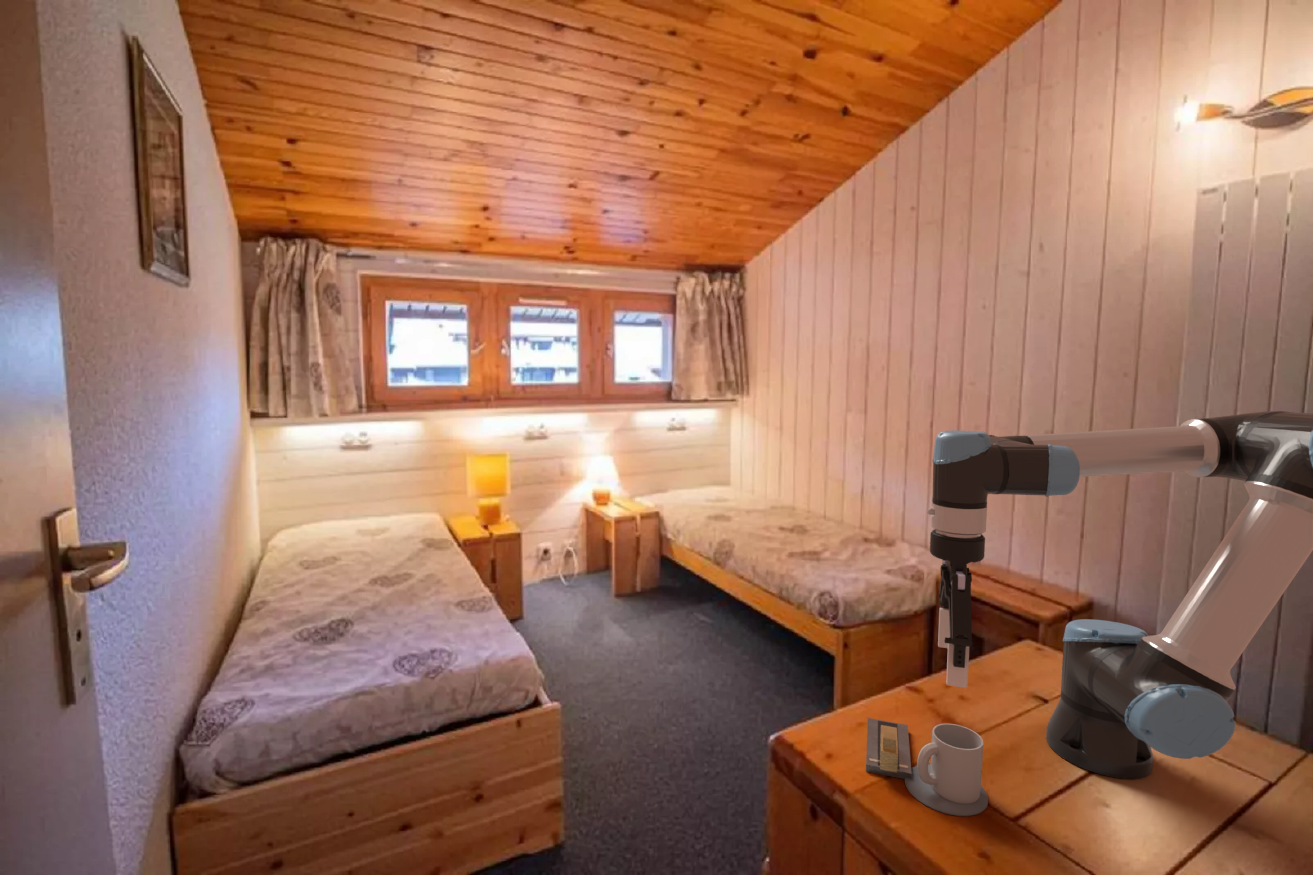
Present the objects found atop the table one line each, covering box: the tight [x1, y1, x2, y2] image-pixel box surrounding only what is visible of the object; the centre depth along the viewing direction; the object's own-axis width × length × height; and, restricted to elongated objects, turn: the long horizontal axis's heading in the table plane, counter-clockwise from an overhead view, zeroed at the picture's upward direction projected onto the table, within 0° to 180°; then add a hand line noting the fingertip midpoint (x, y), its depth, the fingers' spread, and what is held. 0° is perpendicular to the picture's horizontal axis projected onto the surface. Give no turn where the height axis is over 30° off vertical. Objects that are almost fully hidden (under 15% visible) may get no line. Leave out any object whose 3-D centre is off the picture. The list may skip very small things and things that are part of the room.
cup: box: [916, 723, 984, 804], centre depth 97 cm, size 7×10×9 cm
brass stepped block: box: [880, 725, 898, 773], centre depth 103 cm, size 3×8×5 cm, turn 160°
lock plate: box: [865, 717, 912, 780], centre depth 108 cm, size 7×15×1 cm, turn 160°
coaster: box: [904, 763, 989, 817], centre depth 98 cm, size 12×12×1 cm
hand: (951, 665), depth 96 cm, fingers open, 13 cm apart
